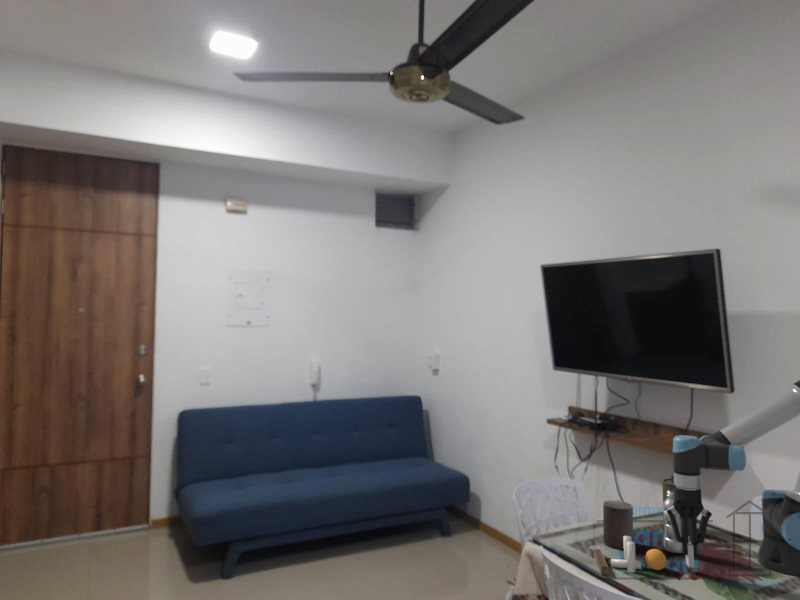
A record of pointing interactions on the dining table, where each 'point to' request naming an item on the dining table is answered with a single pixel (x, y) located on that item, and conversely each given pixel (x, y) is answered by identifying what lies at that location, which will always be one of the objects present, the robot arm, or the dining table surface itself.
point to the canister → (667, 485)
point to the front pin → (623, 563)
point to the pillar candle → (617, 522)
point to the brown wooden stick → (601, 561)
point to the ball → (655, 559)
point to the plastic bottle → (669, 537)
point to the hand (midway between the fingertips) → (690, 565)
